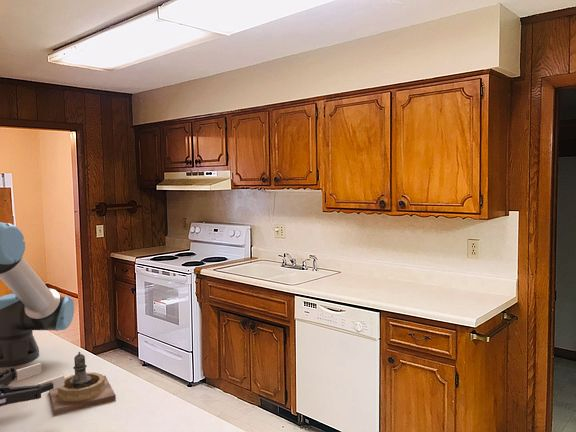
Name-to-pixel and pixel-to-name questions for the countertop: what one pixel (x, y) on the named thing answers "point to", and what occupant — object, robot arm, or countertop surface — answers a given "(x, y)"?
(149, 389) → the countertop surface
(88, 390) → the collar stand
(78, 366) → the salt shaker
